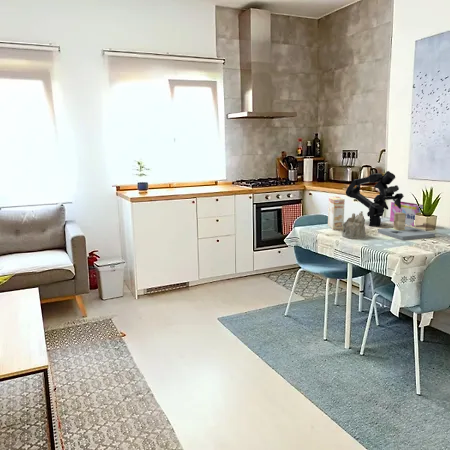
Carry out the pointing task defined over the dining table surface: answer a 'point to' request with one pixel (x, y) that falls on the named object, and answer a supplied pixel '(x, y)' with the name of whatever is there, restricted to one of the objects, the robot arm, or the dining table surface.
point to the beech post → (399, 221)
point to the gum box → (406, 211)
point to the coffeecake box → (336, 213)
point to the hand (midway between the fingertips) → (394, 208)
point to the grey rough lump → (354, 227)
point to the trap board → (406, 233)
